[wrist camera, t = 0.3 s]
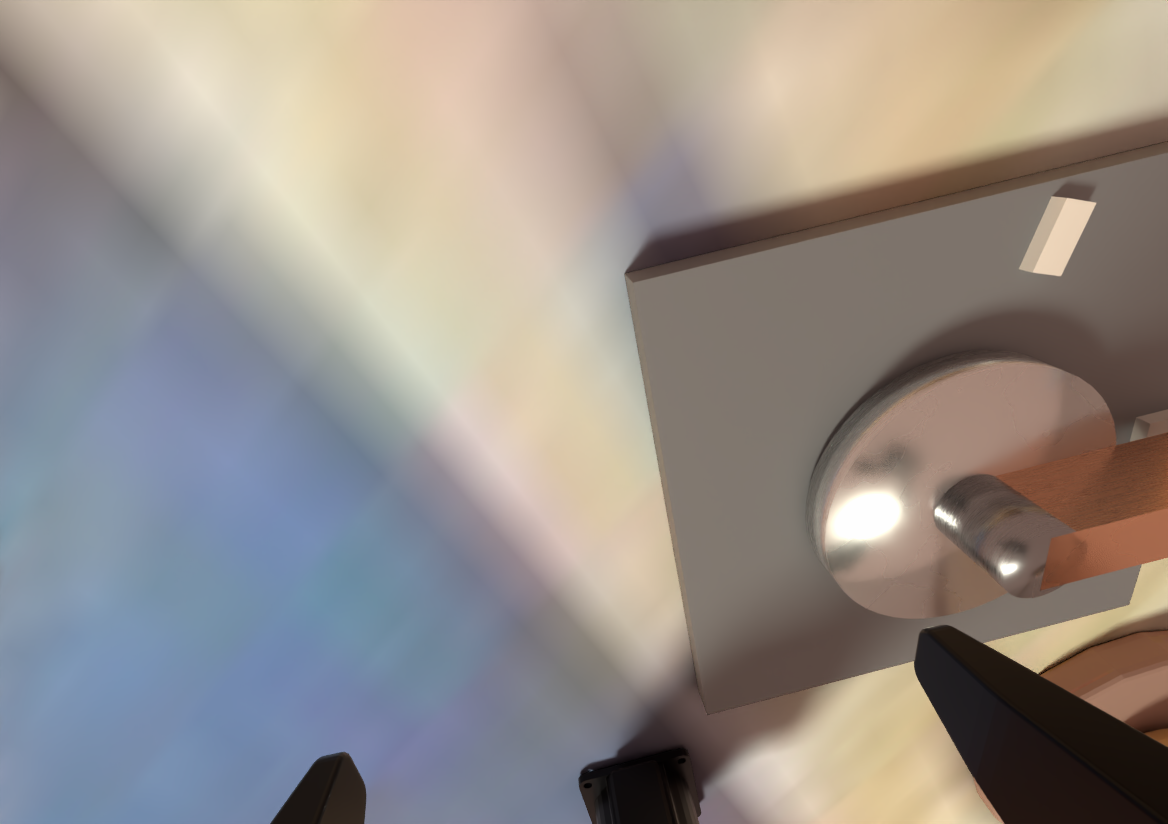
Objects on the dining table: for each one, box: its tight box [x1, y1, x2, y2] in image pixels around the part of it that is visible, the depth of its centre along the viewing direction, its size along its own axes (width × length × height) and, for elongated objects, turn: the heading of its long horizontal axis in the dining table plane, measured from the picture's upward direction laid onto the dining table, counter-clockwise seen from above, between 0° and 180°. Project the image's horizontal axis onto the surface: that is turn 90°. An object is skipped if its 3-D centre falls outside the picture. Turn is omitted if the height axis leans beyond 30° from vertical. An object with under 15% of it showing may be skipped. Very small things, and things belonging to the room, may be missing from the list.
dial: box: [805, 349, 1168, 619], centre depth 22 cm, size 17×12×5 cm
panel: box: [625, 141, 1168, 715], centre depth 25 cm, size 23×23×2 cm
